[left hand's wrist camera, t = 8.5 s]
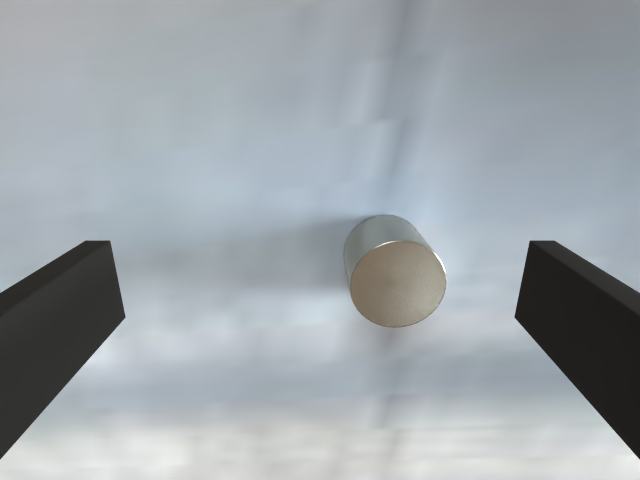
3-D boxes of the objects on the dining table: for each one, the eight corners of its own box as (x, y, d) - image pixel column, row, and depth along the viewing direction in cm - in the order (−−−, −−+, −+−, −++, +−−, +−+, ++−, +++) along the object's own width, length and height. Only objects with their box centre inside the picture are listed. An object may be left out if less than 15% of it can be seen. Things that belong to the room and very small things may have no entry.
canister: (340, 218, 22) (346, 245, 18) (422, 210, 22) (447, 235, 18) (346, 292, 24) (353, 332, 20) (423, 284, 24) (446, 323, 20)
